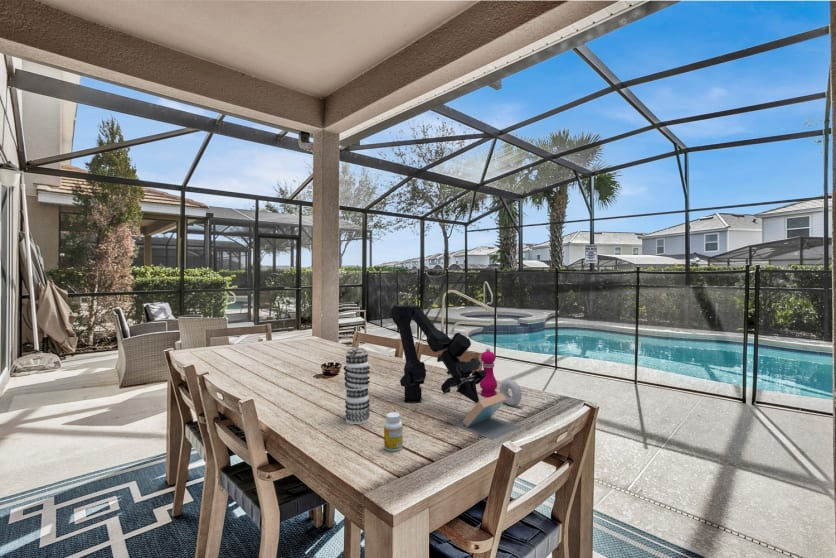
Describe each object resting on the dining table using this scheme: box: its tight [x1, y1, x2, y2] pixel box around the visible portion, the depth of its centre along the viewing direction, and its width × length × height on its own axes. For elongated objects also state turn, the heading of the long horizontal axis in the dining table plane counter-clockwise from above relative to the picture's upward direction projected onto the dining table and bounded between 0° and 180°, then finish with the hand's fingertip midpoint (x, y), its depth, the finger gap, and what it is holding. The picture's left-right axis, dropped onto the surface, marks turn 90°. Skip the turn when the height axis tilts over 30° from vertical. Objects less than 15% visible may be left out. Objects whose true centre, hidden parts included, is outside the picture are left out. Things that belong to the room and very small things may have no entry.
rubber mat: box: [452, 416, 521, 441], centre depth 126 cm, size 17×15×1 cm
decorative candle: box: [343, 347, 371, 425], centre depth 133 cm, size 9×9×25 cm
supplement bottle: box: [383, 411, 404, 452], centre depth 111 cm, size 5×5×10 cm
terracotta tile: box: [462, 393, 506, 427], centre depth 127 cm, size 3×12×11 cm
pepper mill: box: [479, 347, 498, 398], centre depth 159 cm, size 7×7×20 cm
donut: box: [499, 378, 523, 407], centre depth 146 cm, size 10×4×10 cm, turn 34°
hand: (477, 402), depth 129 cm, fingers closed
